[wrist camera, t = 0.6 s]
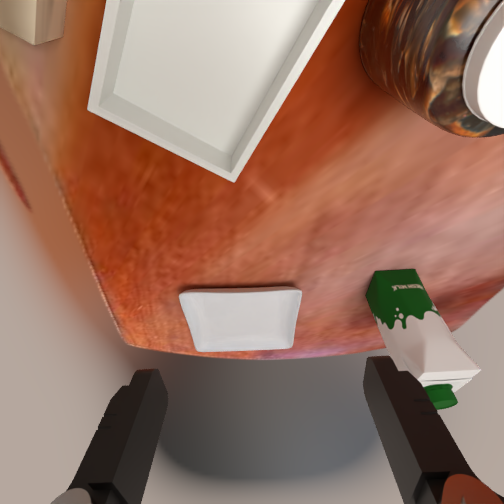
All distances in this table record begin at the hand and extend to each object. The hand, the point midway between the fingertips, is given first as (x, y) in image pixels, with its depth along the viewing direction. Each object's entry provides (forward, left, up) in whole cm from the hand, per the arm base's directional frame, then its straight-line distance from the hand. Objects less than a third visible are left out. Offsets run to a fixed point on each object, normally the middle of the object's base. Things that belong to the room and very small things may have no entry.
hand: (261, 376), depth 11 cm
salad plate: (+18, -32, -28) cm, 46 cm away
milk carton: (+37, -11, -28) cm, 47 cm away
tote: (-6, +5, -27) cm, 28 cm away
